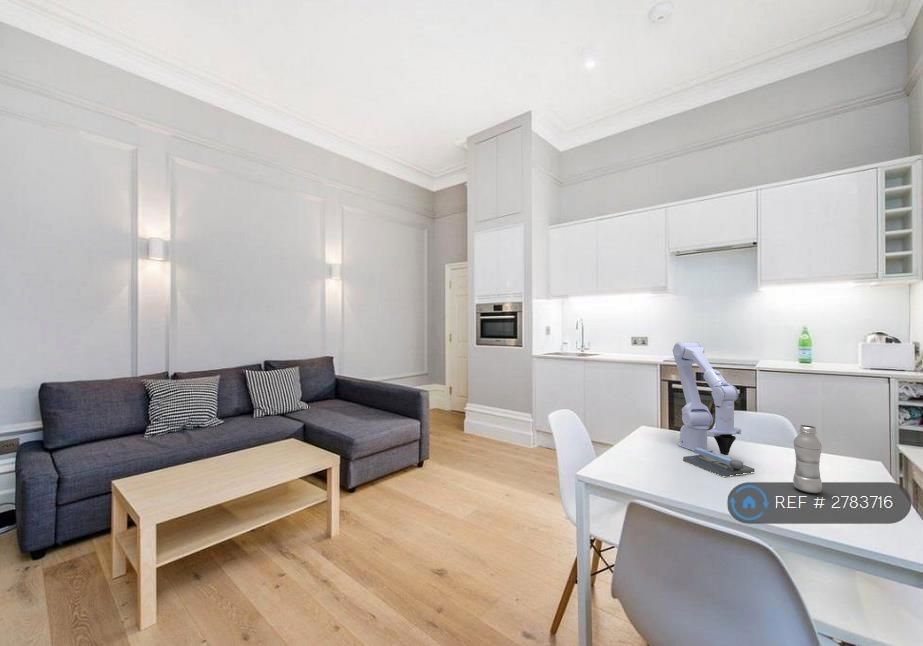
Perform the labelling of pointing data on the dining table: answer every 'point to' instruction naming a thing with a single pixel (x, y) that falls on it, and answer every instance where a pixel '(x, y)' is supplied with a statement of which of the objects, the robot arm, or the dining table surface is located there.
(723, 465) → the chassis
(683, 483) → the dining table surface
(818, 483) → the plastic bottle
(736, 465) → the cable arm
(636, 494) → the dining table surface
